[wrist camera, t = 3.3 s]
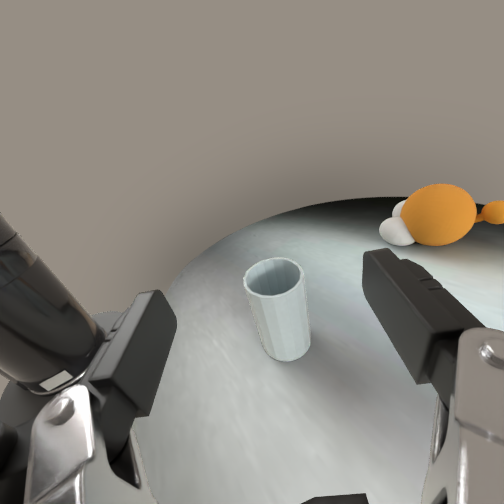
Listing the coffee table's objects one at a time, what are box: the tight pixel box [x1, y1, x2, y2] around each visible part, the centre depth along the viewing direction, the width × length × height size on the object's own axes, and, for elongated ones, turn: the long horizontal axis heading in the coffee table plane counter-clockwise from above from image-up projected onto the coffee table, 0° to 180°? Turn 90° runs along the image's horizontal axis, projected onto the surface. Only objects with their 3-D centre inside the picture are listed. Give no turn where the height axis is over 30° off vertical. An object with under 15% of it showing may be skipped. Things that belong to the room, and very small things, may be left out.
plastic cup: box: [243, 258, 311, 362], centre depth 25 cm, size 6×6×10 cm
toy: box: [379, 184, 504, 246], centre depth 35 cm, size 9×10×15 cm
